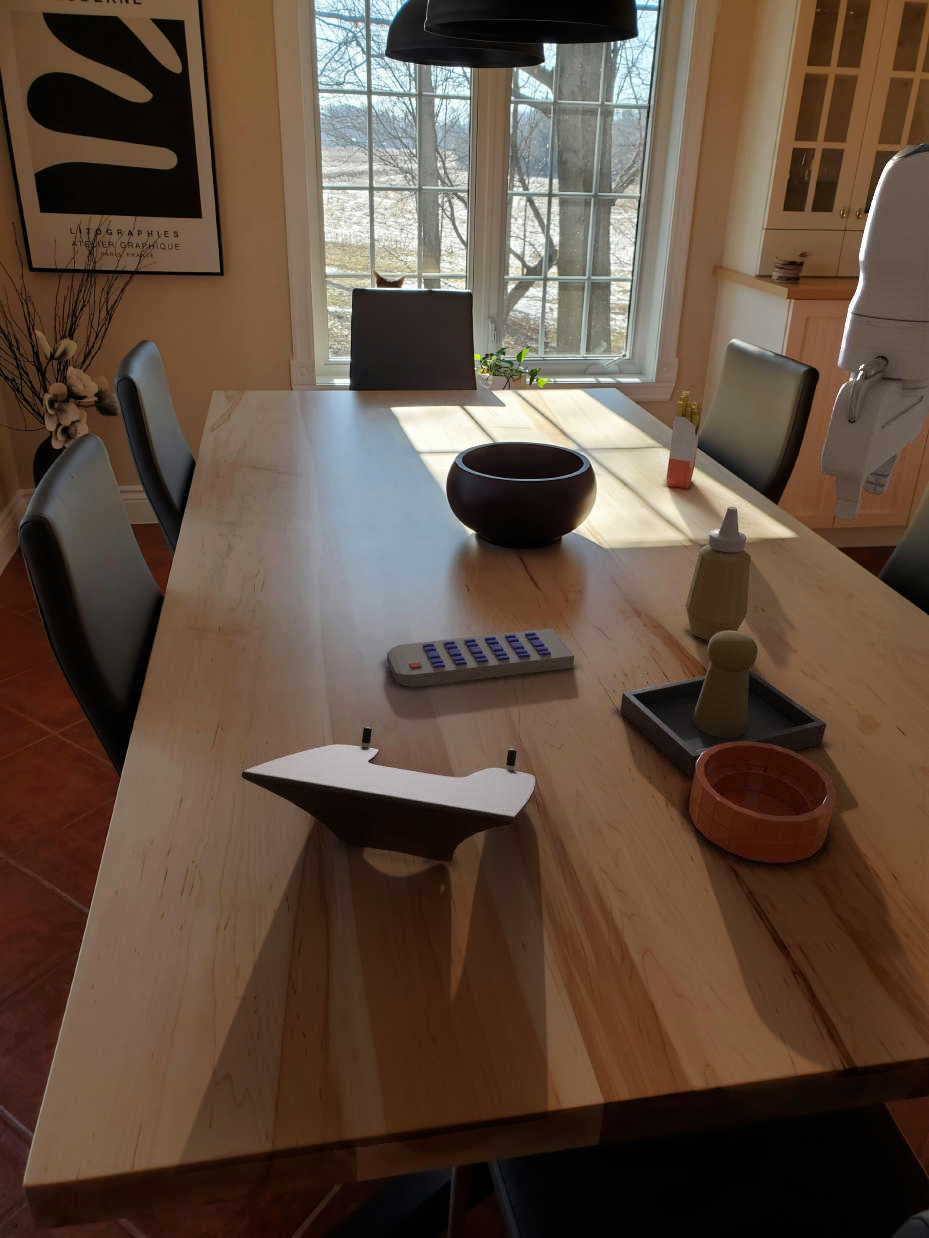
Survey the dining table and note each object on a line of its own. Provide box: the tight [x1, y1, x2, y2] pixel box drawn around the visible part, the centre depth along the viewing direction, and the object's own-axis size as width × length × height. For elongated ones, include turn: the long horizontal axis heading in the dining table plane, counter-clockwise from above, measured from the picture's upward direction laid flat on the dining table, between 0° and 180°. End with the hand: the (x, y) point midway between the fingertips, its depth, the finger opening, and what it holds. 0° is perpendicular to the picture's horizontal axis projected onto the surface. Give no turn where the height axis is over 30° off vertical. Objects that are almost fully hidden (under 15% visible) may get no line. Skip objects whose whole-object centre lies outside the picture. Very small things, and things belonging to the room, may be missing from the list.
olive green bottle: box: [692, 630, 758, 738], centre depth 99 cm, size 6×6×11 cm
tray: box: [619, 668, 827, 778], centre depth 101 cm, size 18×14×3 cm
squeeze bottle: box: [685, 506, 751, 641], centre depth 119 cm, size 8×8×18 cm
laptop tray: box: [241, 726, 536, 863], centre depth 83 cm, size 23×23×9 cm
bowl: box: [688, 741, 837, 864], centre depth 86 cm, size 13×13×5 cm
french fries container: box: [666, 390, 703, 489], centre depth 181 cm, size 5×11×18 cm, turn 160°
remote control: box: [386, 627, 575, 688], centre depth 113 cm, size 8×23×2 cm, turn 106°
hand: (860, 504), depth 83 cm, fingers open, 8 cm apart
